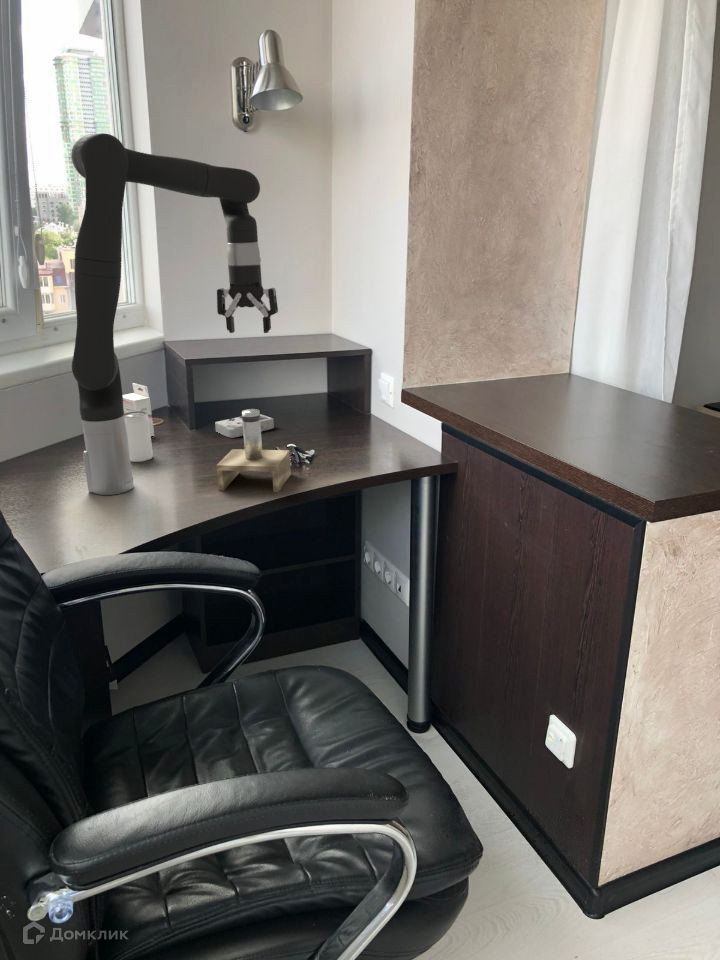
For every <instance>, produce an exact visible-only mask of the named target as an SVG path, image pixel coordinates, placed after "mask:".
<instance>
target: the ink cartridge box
mask: <svg viewBox="0 0 720 960" xmlns="http://www.w3.org/2000/svg"><path fill="white" fill-rule="evenodd" d="M131 384H132V389H133V393H128V394H123V408H124V414H125V413H128V412H133V411H143V412H146V416H147V417H148V420H149V427H150V435H151V436H154V437H155V430H154V429H155V428H154V423H153V413H152V407H151V398H150V394H149V389H148V386H146V385H143V384H138V383H134V382H132V383H131ZM140 389H141V390H140Z"/></svg>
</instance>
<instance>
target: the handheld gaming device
mask: <svg viewBox="0 0 720 960" xmlns="http://www.w3.org/2000/svg"><path fill="white" fill-rule="evenodd" d="M274 420H275V419H274V418H272V417H269V416H267V415H264V414H261V413H260V425H261V432H265V431H269V430H272V429H274V428H275V426H274V425H275V424H274V423H275V422H274ZM214 428H215V433H216V432H218V433H217V434H219V433H220V434H219V435H222V436H224V437H227V438H230V439H231V438H233V439H234V438H239V437H244V435H243V422H242V416H238V417H237V416H236V417H234V418H233V417H232V418H229V419H222V420H220V421H218V420H217V421H215V423H214Z"/></svg>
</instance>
